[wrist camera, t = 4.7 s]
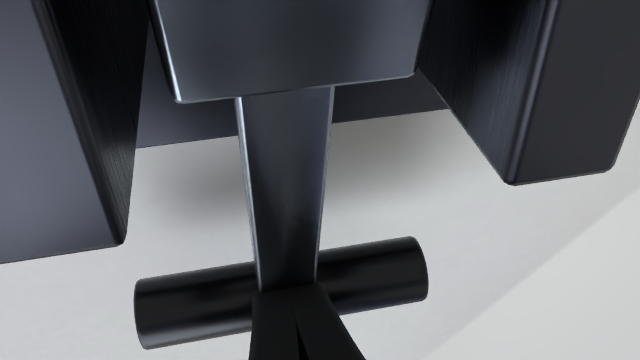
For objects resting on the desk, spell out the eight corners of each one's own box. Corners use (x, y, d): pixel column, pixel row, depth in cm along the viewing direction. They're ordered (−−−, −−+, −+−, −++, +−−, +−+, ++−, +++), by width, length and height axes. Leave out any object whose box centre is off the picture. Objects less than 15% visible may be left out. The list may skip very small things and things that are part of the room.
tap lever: (398, 235, 14) (427, 330, 12) (146, 275, 13) (150, 381, 11) (636, -431, 4) (855, -319, 3) (-248, -452, 3) (-462, -307, 2)
